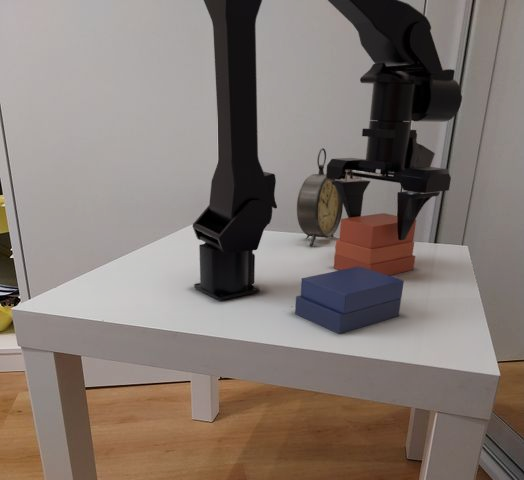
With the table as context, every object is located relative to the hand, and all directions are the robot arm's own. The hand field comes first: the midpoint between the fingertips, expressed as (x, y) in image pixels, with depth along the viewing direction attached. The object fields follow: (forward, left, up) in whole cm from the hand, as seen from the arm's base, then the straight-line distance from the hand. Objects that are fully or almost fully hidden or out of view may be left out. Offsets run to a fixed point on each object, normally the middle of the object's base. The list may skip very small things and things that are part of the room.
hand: (377, 233), depth 80 cm
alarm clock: (+5, +18, -6) cm, 20 cm away
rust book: (0, 0, -1) cm, 1 cm away
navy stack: (-18, -12, -5) cm, 22 cm away
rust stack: (0, 0, -5) cm, 5 cm away
